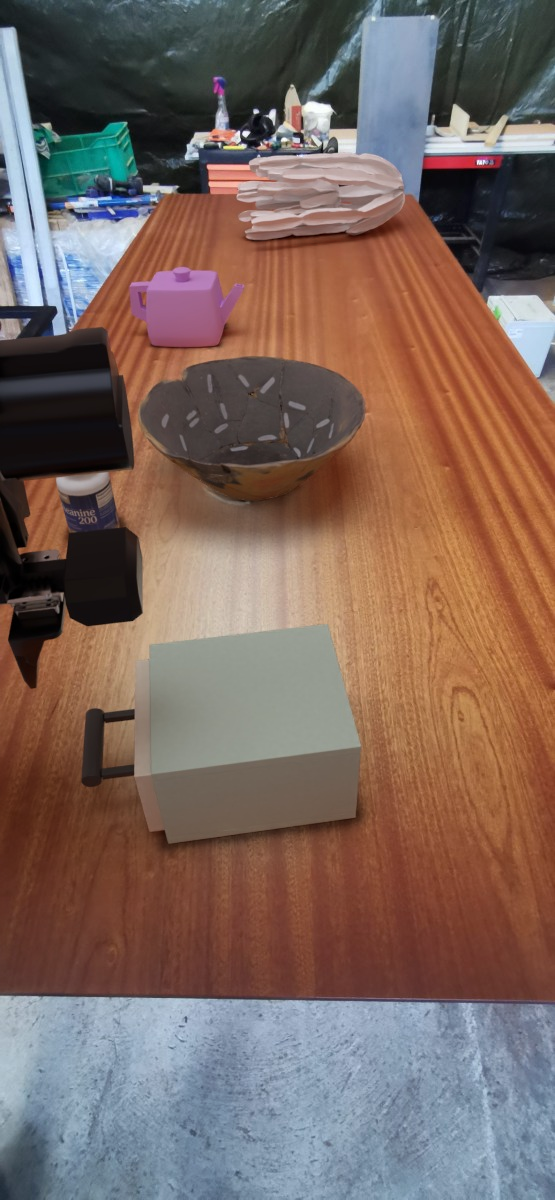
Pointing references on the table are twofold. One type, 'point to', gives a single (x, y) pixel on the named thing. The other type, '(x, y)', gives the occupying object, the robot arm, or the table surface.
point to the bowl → (252, 422)
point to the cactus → (320, 194)
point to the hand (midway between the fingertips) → (15, 685)
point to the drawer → (142, 747)
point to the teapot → (183, 307)
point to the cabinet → (251, 733)
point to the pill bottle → (88, 502)
